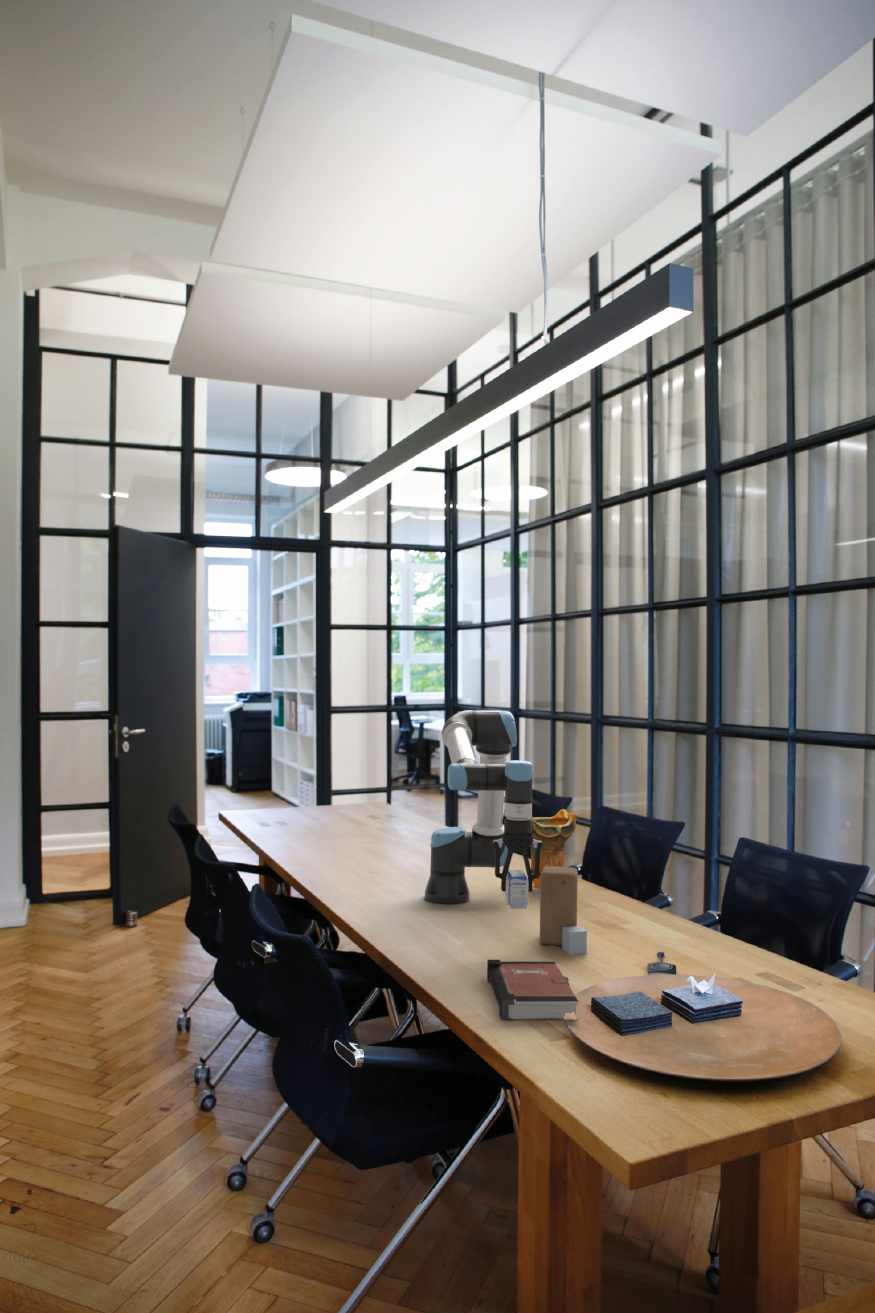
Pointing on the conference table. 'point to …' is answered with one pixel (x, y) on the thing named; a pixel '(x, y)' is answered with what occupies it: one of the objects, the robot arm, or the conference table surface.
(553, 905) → the wooden block
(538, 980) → the book
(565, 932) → the slate block
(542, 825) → the decorative vase
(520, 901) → the medicine box
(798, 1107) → the conference table surface
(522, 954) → the conference table surface
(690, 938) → the conference table surface
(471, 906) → the conference table surface
